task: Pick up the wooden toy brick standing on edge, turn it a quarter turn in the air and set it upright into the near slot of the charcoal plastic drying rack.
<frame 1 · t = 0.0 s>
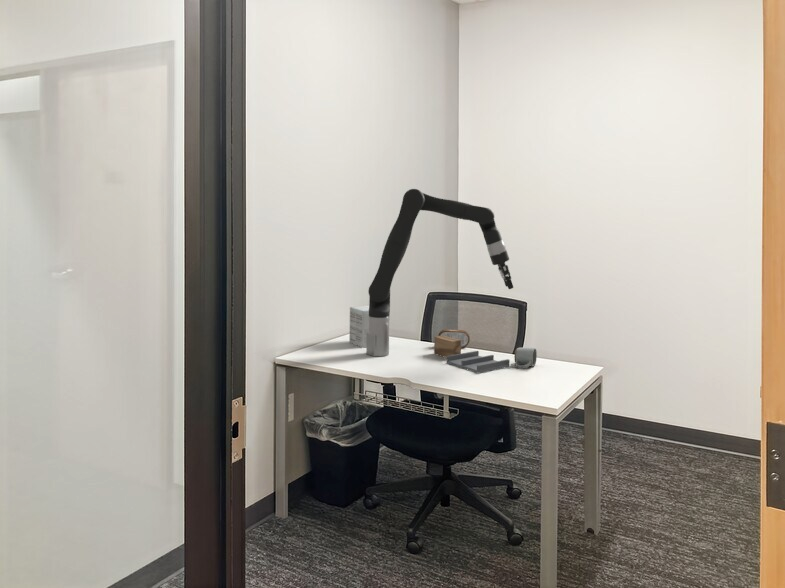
hand: (509, 287, 267), 31 cm above the table, tool tilted 20°, fingers open, 8 cm apart
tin: (453, 347, 290), on the table
supplement box: (367, 344, 294), on the table
rack: (477, 364, 258), on the table
wooden toy brick: (447, 356, 273), on the table
ceramic mug: (525, 366, 258), on the table
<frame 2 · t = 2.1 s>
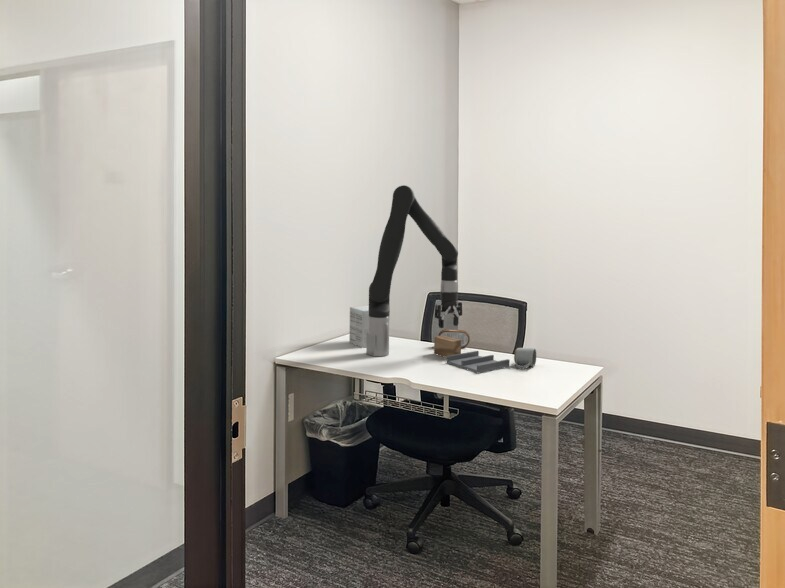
hand: (448, 326, 271), 13 cm above the table, tool pointing down, fingers open, 8 cm apart
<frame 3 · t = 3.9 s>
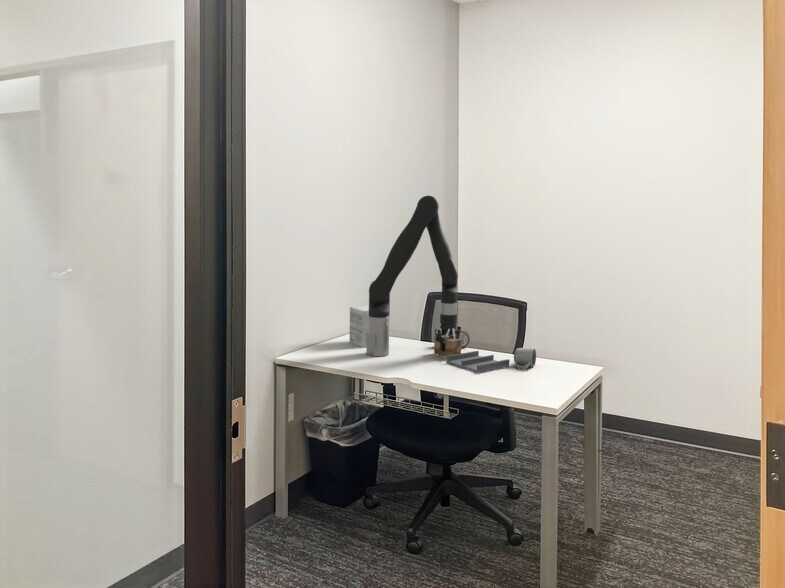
hand: (447, 350, 273), 2 cm above the table, tool pointing down, fingers closed on wooden toy brick, 5 cm apart
wooden toy brick: (447, 355, 273), on the table, touching gripper
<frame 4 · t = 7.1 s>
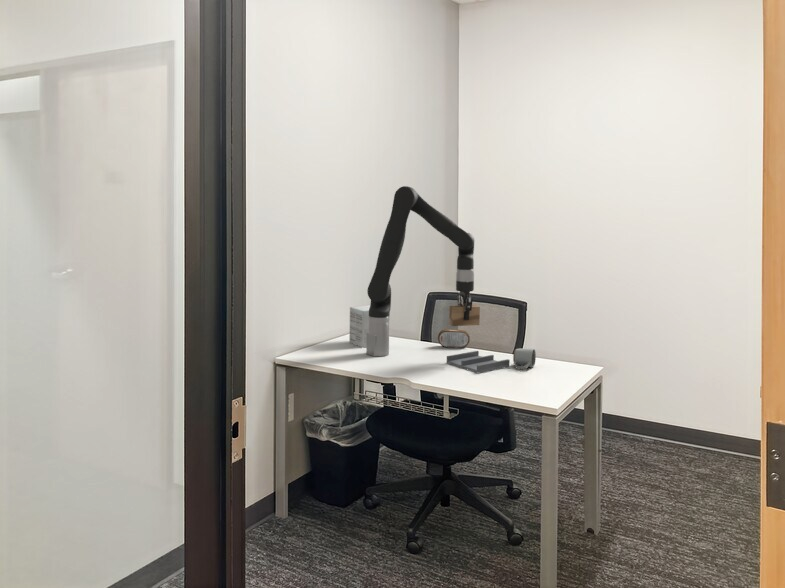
hand: (464, 318, 264), 18 cm above the table, tool pointing down, fingers closed on wooden toy brick, 5 cm apart
wooden toy brick: (464, 324, 265), point 15 cm above the table, touching gripper
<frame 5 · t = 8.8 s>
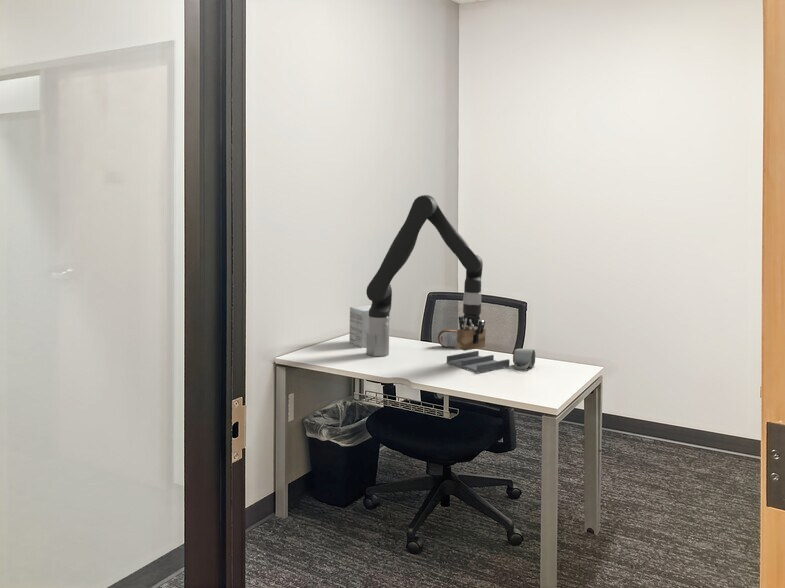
hand: (470, 342, 261), 9 cm above the table, tool pointing down, fingers closed on wooden toy brick, 5 cm apart
wooden toy brick: (470, 347, 261), point 6 cm above the table, touching gripper
when the fingers open (5 cm above the table, at t = 10.4 s): wooden toy brick drops 1 cm, resting on rack.
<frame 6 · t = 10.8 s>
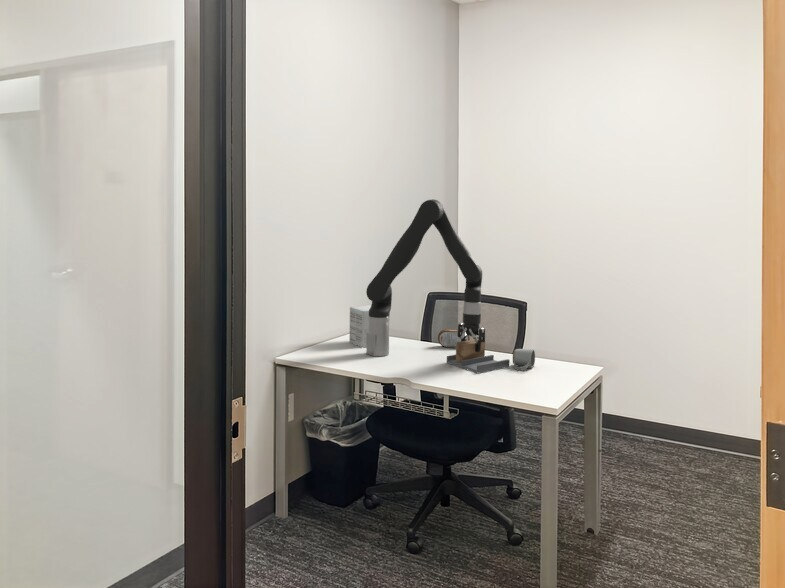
hand: (470, 349, 261), 6 cm above the table, tool pointing down, fingers open, 8 cm apart
wooden toy brick: (470, 360, 262), point 1 cm above the table, touching rack
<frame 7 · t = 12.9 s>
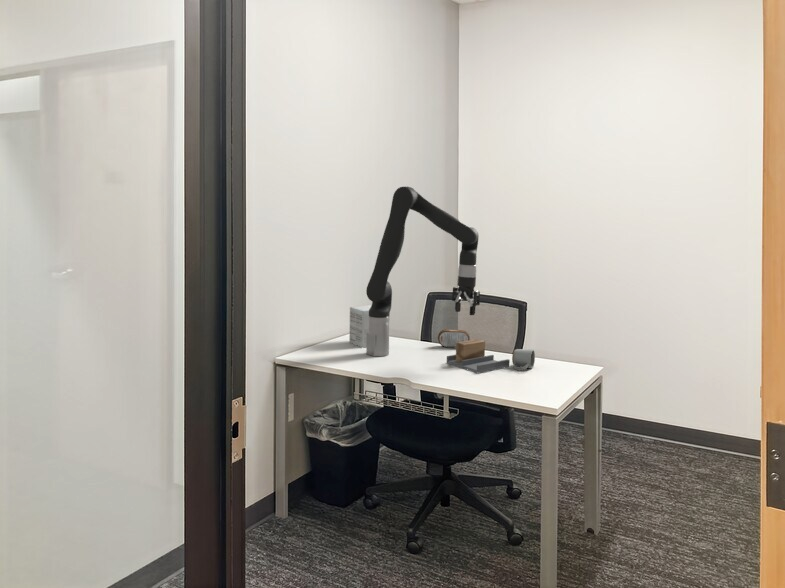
hand: (464, 313, 260), 21 cm above the table, tool pointing down, fingers open, 8 cm apart
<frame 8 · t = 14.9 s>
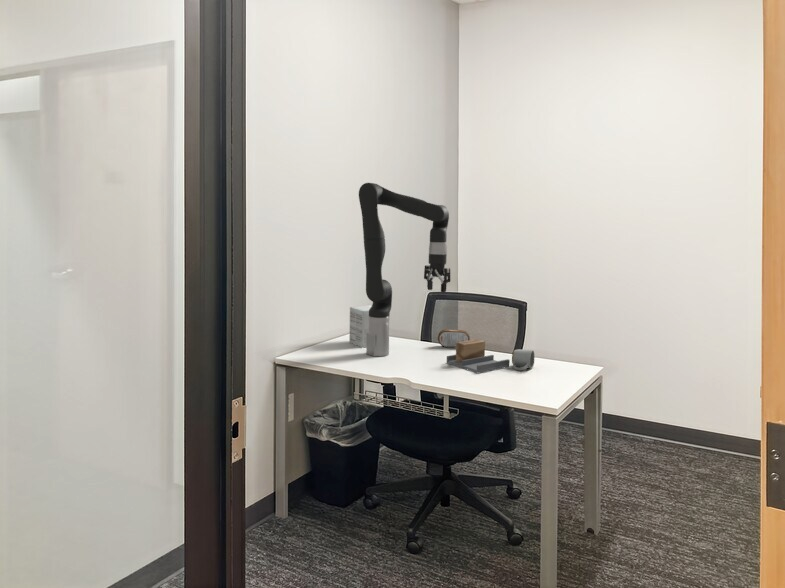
hand: (436, 291, 261), 30 cm above the table, tool pointing down, fingers open, 8 cm apart
at the end: wooden toy brick 0.0 cm from the target spot on the rack, point 1.0 cm above the rack's base; wooden toy brick tilted 0°; the gripper is holding nothing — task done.
